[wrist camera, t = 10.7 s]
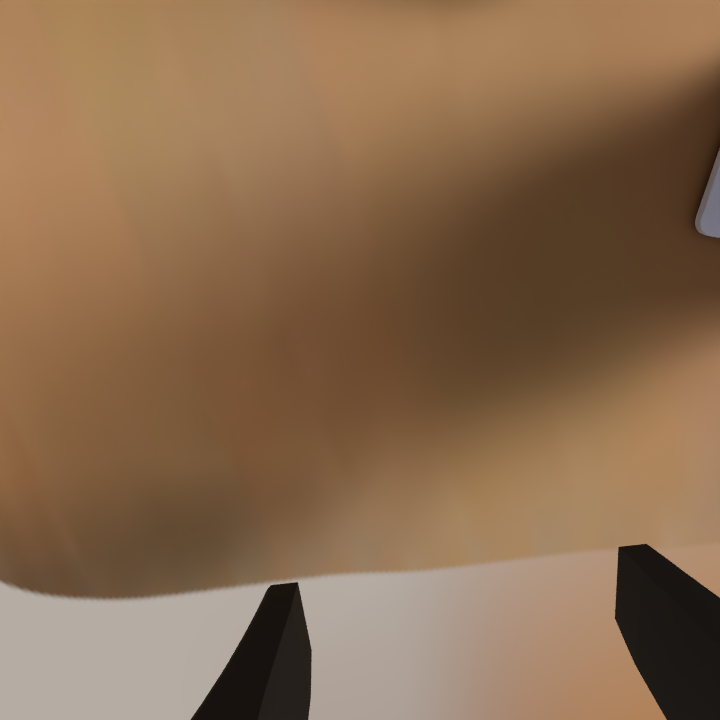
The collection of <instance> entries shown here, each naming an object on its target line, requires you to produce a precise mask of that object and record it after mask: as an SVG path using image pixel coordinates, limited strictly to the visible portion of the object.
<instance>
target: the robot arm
mask: <svg viewBox="0 0 720 720" xmlns="http://www.w3.org/2000/svg"><path fill="white" fill-rule="evenodd" d="M695 226H696V229H697V230H698V232H699V233H701V234H704V235H707V236H712V237H718V238H720V149H719V152H718V154H717V157H716V160H715V163H714V166H713V169H712V172H711V175H710V178H709V181H708V184H707V187H706V190H705V192H704V195H703V198H702V201H701V204H700V207H699V210H698V213H697V216H696V220H695ZM616 591H617V592H616V609H615V619H616V622H617V623H618V626H619V628H620V631H621V633H622V636H623V638H624V640H625V643H626V645H627V647H628V649H629V652H630V654H631V656H632V658H633V660H634V663H635V665H636V667H637V668H638V670H639V672H640V674H641V676H642V677H643V679H644V681H645V683H646V684H647V686H648V688H649V690H650V691H651V693H652V695H653V696H654V698H655V700H656V702H657V703H658V705H659V707H660V709H661V710H662V712H663V714H664V715H665V717H666V719H667V720H720V598H719V597H718V596H716V595H715V594H714V593H712V592H711V591H709V590H708V589H707V588H705V587H704V586H703V585H701V584H700V583H699V582H697V581H696V580H695V579H693V578H692V577H690V576H689V575H688V574H686V573H685V572H684V571H682V570H681V569H679V568H678V567H677V566H676V565H674V564H673V563H672V562H670V561H669V560H668V559H666V558H665V557H664V556H662V555H661V554H659V553H658V552H657V551H655V550H654V549H653V548H651V547H650V546H649V545H647V544H641V545H632V546H623V547H619V551H618V570H617V589H616ZM311 651H312V650H311V646H310V640H309V635H308V630H307V625H306V621H305V616H304V611H303V606H302V601H301V596H300V591H299V586H298V583H297V582H296V583H287V584H278V585H271V586H270V587H269V588H268V589H267V591H266V593H265V595H264V598H263V600H262V602H261V604H260V606H259V608H258V610H257V612H256V614H255V616H254V617H253V619H252V621H251V623H250V625H249V627H248V629H247V631H246V632H245V634H244V636H243V638H242V640H241V641H240V643H239V645H238V647H237V648H236V650H235V652H234V653H233V655H232V657H231V658H230V660H229V662H228V664H227V665H226V667H225V669H224V670H223V672H222V674H221V675H220V677H219V678H218V680H217V681H216V683H215V684H214V686H213V687H212V689H211V690H210V692H209V693H208V695H207V696H206V698H205V700H204V701H203V703H202V704H201V706H200V707H199V708H198V710H197V711H196V713H195V714H194V716H193V717H192V719H191V720H308V716H309V707H310V698H311Z"/></svg>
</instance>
